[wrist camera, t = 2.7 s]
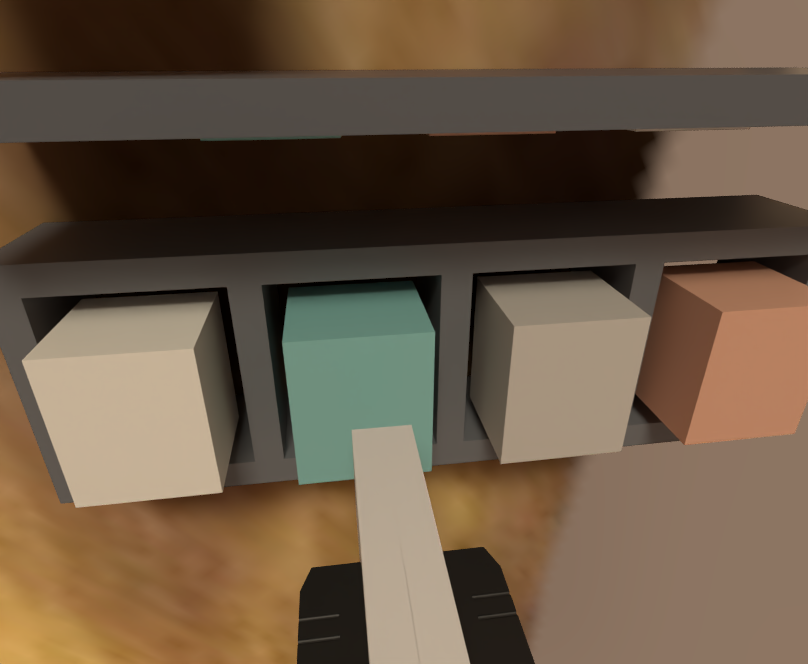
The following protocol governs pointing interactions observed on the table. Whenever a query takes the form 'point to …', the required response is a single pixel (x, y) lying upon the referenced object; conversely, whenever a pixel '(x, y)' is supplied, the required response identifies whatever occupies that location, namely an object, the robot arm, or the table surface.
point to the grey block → (554, 364)
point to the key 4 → (727, 352)
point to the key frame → (371, 259)
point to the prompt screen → (392, 102)
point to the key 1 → (138, 397)
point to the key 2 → (356, 371)
